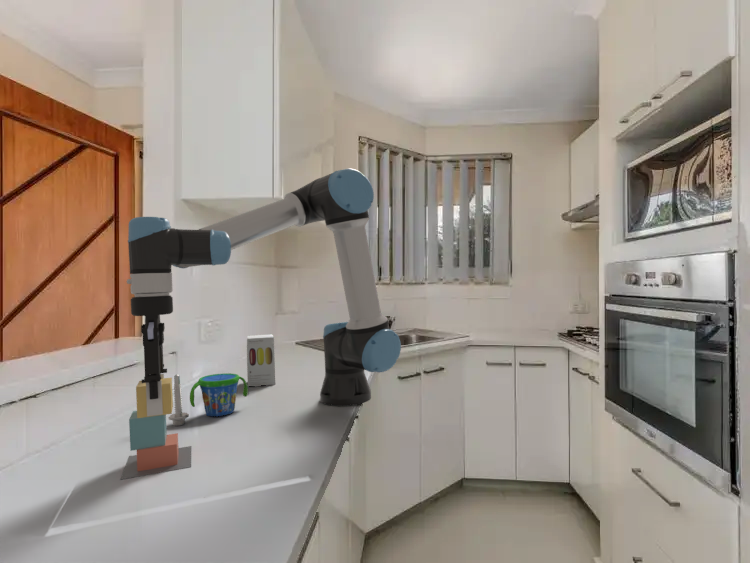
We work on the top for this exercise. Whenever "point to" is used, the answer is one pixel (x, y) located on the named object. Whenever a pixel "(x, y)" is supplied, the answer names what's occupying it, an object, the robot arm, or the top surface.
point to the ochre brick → (166, 398)
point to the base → (133, 465)
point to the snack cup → (218, 393)
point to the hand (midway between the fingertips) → (156, 410)
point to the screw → (178, 404)
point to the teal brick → (147, 431)
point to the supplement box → (260, 360)
